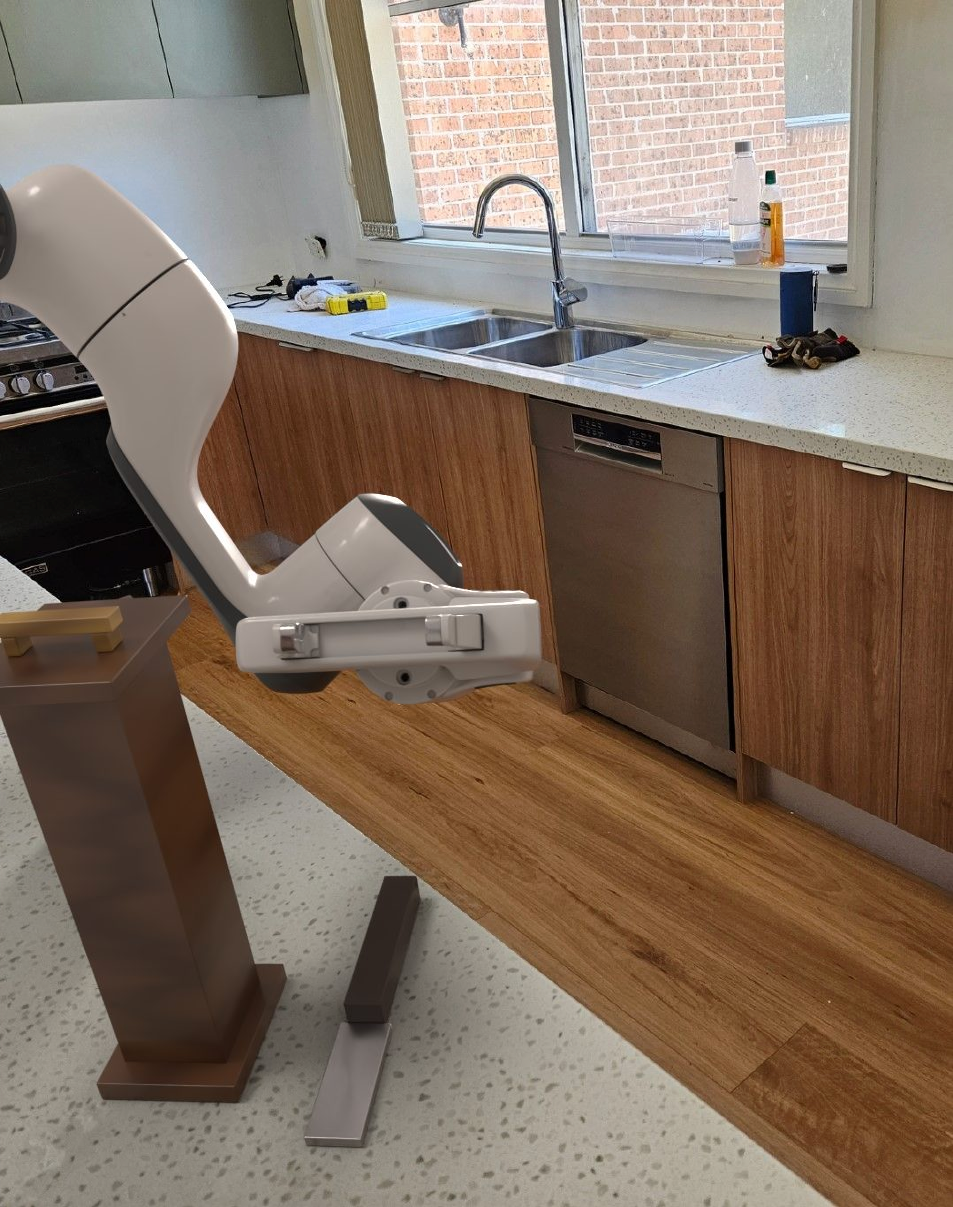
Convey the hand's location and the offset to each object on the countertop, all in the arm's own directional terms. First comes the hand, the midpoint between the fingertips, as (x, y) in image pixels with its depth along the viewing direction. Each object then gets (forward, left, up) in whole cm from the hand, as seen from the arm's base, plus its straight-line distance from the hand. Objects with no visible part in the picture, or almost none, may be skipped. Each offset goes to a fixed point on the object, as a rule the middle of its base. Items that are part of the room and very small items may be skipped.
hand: (359, 633), depth 64 cm
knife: (0, -9, -19) cm, 21 cm away
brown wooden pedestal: (-10, -12, -19) cm, 25 cm away
